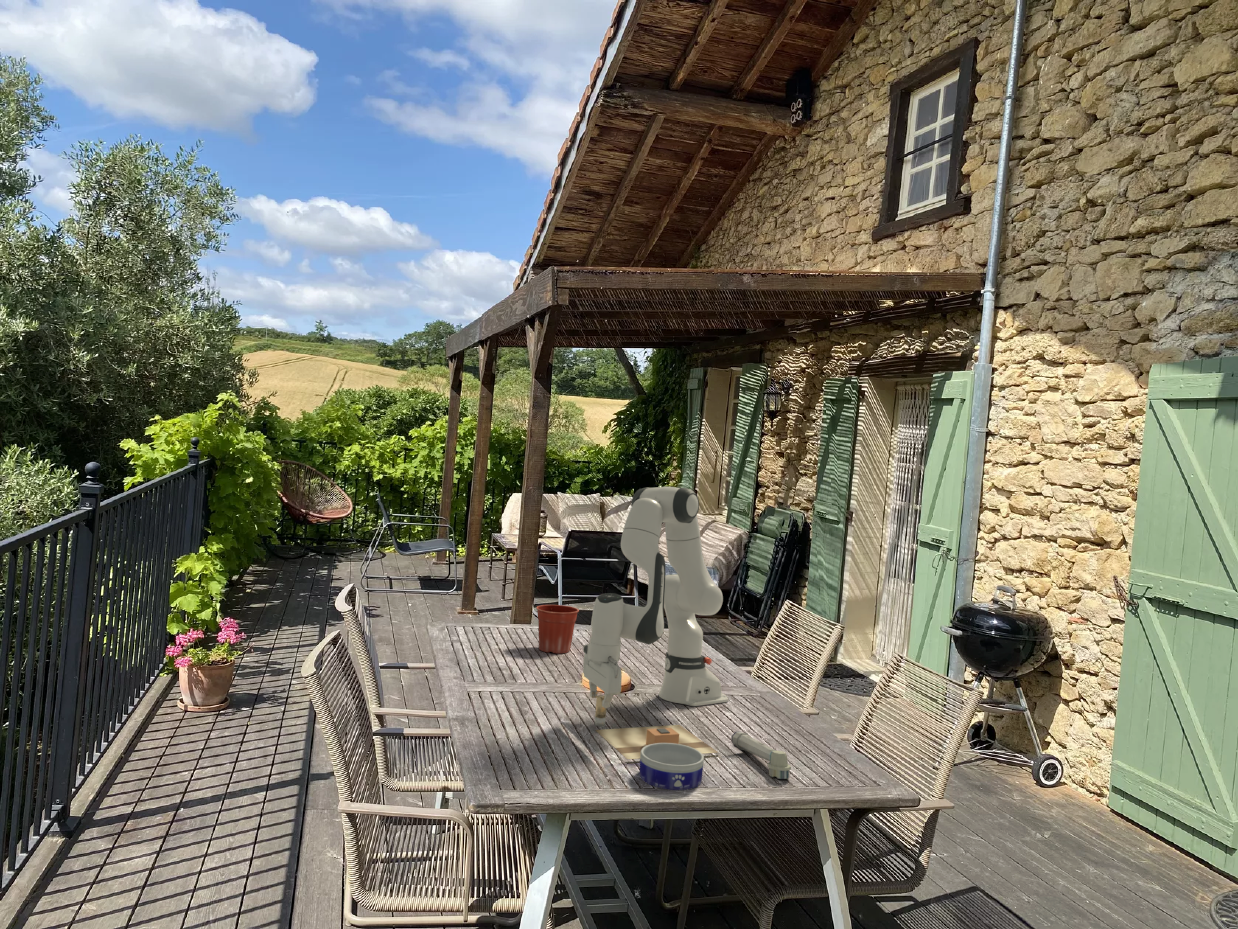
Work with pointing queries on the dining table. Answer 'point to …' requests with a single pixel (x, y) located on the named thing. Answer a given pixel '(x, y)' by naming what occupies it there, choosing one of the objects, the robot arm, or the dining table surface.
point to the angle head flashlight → (764, 754)
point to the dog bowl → (671, 766)
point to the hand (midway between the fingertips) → (599, 702)
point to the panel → (635, 740)
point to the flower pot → (556, 627)
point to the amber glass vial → (600, 712)
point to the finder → (662, 736)
